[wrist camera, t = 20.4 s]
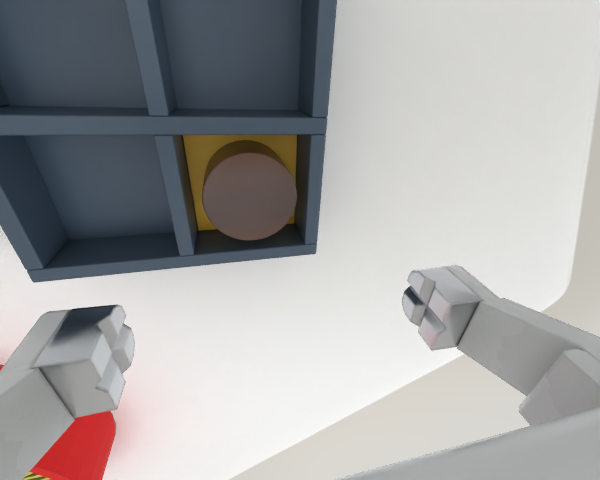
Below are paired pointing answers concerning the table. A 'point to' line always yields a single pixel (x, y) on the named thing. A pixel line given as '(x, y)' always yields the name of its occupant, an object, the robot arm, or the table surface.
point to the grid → (153, 126)
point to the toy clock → (78, 450)
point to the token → (248, 191)
